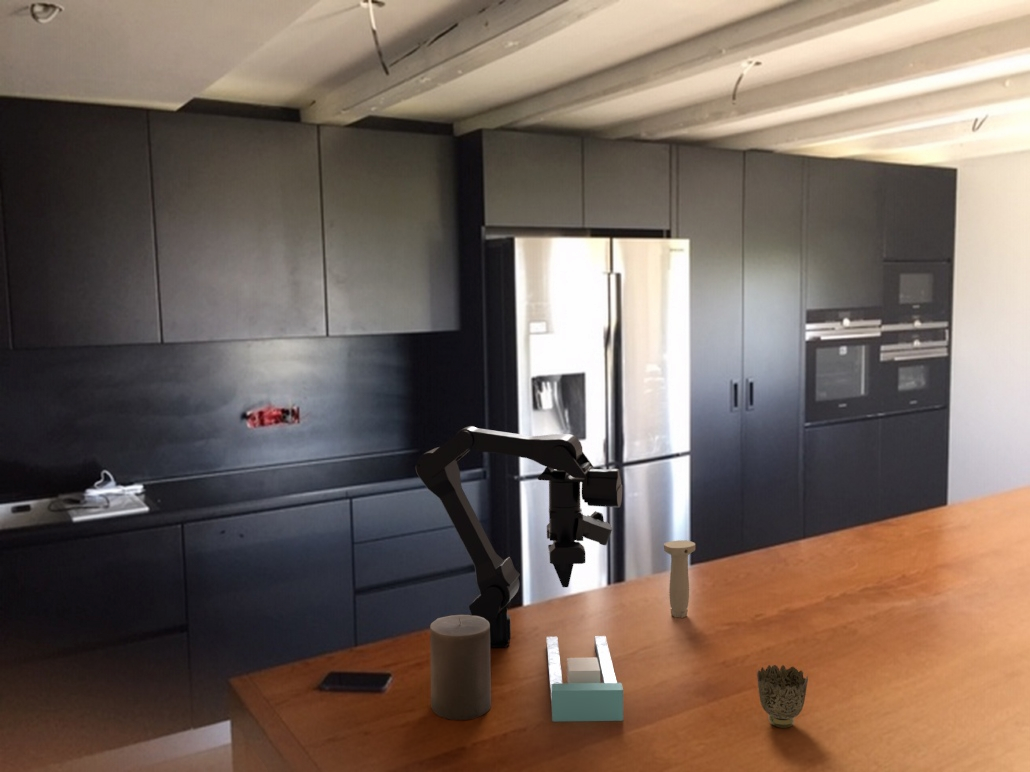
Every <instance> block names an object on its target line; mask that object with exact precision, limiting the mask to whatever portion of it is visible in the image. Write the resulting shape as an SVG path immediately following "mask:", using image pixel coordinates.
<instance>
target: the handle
mask: <svg viewBox="0 0 1030 772" xmlns="http://www.w3.org/2000/svg"><path fill="white" fill-rule="evenodd" d="M663 551H665V553H666V554H668V555H670V560H671V561H670V574H669V575H670V576H669V586H668V587H669V589H668V593H669V594H668V595H669V604H670V615H671V616H673V617H674V618H682V619H684V618H685V617H687V616H688V606H689V601H690V600H689V598H690V579H689V578H690V577H689V555H690V554H691V553H693V552H695V551H696V542H693V541H691V540H681V539H680V540H679V539H678V540H672V541H667V542H664V543H663Z"/></svg>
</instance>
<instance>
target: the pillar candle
mask: <svg viewBox="0 0 1030 772" xmlns="http://www.w3.org/2000/svg"><path fill="white" fill-rule="evenodd" d="M429 627H430V631H429V632H430V635H429V637H430V641H429V642H430V706H431V709H432V711H433V712H434V714H436V715H437V716H438V717H441V718H443V719H446V720H454V721H455V720H457V721H458V720H463V721H464V720H466V721H467V720H472V719H473V720H474V719H477V718H479V717H481V716H483V715H485V714H486V713H488V711H489V710H490V709H491V707H492V697H491V696H492V695H491V694H492V692H491V691H492V689H491V688H492V687H491V686H492V685H491V683H492V682H491V678H492V677H491V675H492V674H491V647H490V623H489V622H488V621H487V620H486V619H484V618H482V617H479V616H472V614H471V615H470V614H455V615H454V614H453V615H447V616H442V617H438V618H436V619H435V620H434V621H432V622H431V623H430V626H429Z"/></svg>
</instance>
